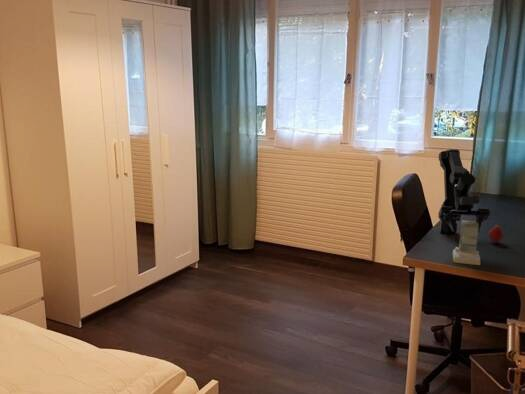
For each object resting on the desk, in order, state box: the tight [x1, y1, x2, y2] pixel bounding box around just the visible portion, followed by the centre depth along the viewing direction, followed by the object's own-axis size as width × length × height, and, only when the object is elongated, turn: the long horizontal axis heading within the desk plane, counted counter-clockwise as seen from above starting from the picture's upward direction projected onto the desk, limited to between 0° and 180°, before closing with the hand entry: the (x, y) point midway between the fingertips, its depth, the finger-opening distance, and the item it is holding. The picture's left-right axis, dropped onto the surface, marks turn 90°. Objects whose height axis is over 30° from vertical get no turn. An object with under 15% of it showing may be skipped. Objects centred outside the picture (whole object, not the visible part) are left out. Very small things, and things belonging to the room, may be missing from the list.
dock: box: [452, 248, 481, 266], centre depth 191 cm, size 9×10×2 cm
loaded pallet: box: [454, 219, 480, 258], centre depth 189 cm, size 7×7×13 cm
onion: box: [488, 224, 504, 244], centre depth 209 cm, size 6×6×8 cm
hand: (466, 231), depth 193 cm, fingers open, 9 cm apart
